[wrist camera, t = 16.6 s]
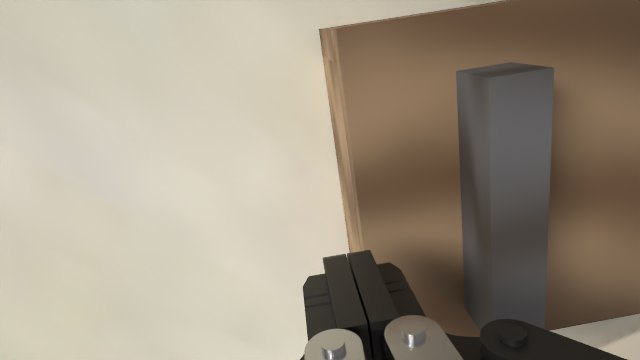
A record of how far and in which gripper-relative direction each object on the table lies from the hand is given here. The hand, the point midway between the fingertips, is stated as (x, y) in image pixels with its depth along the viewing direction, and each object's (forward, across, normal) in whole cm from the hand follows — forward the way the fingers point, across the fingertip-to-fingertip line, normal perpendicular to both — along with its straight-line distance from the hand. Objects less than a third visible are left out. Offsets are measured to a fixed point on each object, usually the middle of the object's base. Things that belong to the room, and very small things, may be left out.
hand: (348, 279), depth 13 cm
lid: (+4, -11, 0) cm, 12 cm away
